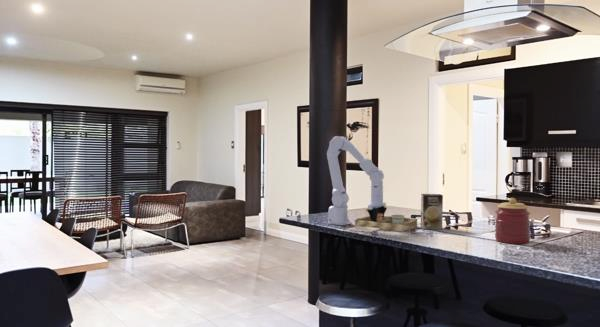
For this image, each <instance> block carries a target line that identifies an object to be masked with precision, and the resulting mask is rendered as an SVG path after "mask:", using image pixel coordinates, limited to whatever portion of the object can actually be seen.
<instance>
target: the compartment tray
mask: <svg viewBox="0 0 600 327" xmlns="http://www.w3.org/2000/svg"><path fill="white" fill-rule="evenodd" d="M356 226H363V227H372V228H380V230H383V231H384V230H385V231H393V232H407V231H409V230H413V229H415V228H417V227H418V218H414V217H404V218H403V223H402V225H401V224H392V218H391V216H390V215H384V217H383V221H382V223H381V222H371V218H370V215H369V214H368V215H367V216H362V217H359V218H356V219H355V220H354V227H356Z"/></svg>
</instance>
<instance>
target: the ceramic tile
mask: <svg viewBox="0 0 600 327" xmlns="http://www.w3.org/2000/svg"><path fill="white" fill-rule="evenodd" d="M347 230H348V231H355V232H361V231H364V233H370V232H371V233H374V232H377V231H380V230H381V229H380V228H372V227H363V226H352V227H348V228H347ZM373 231H374V232H373Z"/></svg>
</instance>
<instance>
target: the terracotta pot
mask: <svg viewBox="0 0 600 327" xmlns="http://www.w3.org/2000/svg"><path fill="white" fill-rule="evenodd" d="M382 216H383V213H378V215H377V222H381V223H382Z"/></svg>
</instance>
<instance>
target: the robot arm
mask: <svg viewBox="0 0 600 327" xmlns="http://www.w3.org/2000/svg"><path fill="white" fill-rule="evenodd" d="M342 151H346V152H349V154H350V155H351V156H352V157H353V158H355V159H356V160H357V161H358V162H359V167H360V168H361V169H362V171H363V172H364V173H365V174H366V175H367V176H368V177H369V180H370V184H371V186H370V204H368V205H367V208H366V211H367V212H368V216H369V215H370V218H371V222H377V215H378V213H383V216H382V221H383V217H384V216H385V214H386V212H387V209H388V208H387V202H384V190H383V189H384V185H383V184H384V183H383V182H384V181H383V179H384V178H385V175H384V172H383V170H381V169H380V168H379V167H378V166H376V165H375V164H374V163H373V160H372V159H370V158H366V157H364V156H363V154H361V152H360V151H359V150H358V148H357V147H355V145H354V144H353V142H351V141H350V140H348V138H347V137H345V136H339V135H335V136H333V137H332V139H331V140H329V146H328V149H327V151H326V159H327V162H328V169H329V174H330V179H331V185H332V192H331V194H332V197H331V202H332V205H330V206H329V207H328V212H327V224H329V225H335V226H346V225H349V224H352V222H350V221H349V218H348V217H349V216H348V213H349V212H348V208H349V207H348V204H347V203H348V202H349V200H350V198H349V195H348V193H347V192H346V189H345V186H344V185H343V184H344V183H343V179H342V178H343V177H342V174H341V173H342V172H341V169H340V168H341V167H340V163H339V158H338V156H339V155H340V154H341V152H342Z"/></svg>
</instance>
